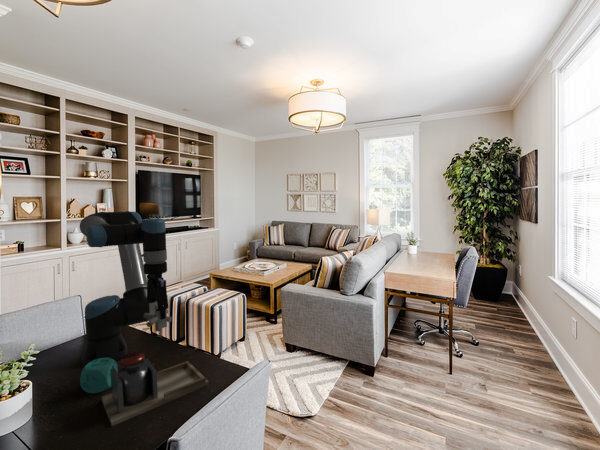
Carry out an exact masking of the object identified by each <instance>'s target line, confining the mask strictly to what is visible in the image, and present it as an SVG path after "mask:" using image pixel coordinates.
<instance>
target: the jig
mask: <svg viewBox="0 0 600 450" xmlns="http://www.w3.org/2000/svg"><path fill="white" fill-rule="evenodd" d="M209 385H210V383H209V380H208V379H207V378H206V377H205V376H204V375H203V374H202V373H201V372H200V371H199V370H198V369H197V368H195V366H194V365H193V364H192V363H191V362H190V361H189V360H186V361H183V362H182V363H178V364H175V365H173V366H169V367H167V368H163V369H162V370H159V371H157V390H158V398H156V399H153V398H152V396H151V395H150V393H149V396H148V398H147V399H146V400H144V401H143V402H141V403H139V404H136V405H133V406H124V412H122V413H120V414H119V412H118V410H117V408H116V405H115V403H114V401H113V399H112V392H111V393H106V394H105V395H103V396H101V402H102V405H103V407H104V409H105V413H106V415H107V417H108V421H109V423H110V426H111V427H114V426H117V425H118V424H121V423H123V422H126V421H127V420H130V419H133V418H134V417H137V416H140V415H142V414H144V413H146V412H149V411H151V410H153V409H155V408H158V407H161V406H163V405H165V404H167V403H170V402H172V401H174V400H177V399H179V398H181V397H183V396H186V395H188V394H191V393H193V392H195V391H198V390H201V389H202V388H204V387H207V386H209Z"/></svg>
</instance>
